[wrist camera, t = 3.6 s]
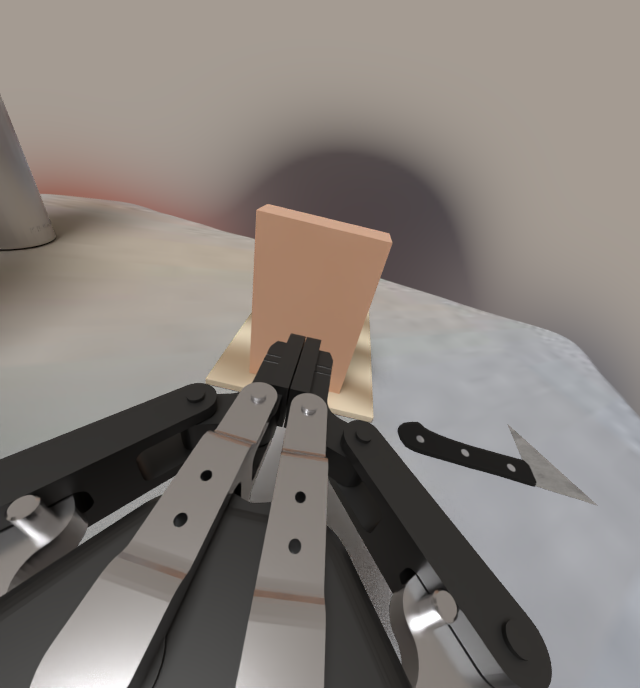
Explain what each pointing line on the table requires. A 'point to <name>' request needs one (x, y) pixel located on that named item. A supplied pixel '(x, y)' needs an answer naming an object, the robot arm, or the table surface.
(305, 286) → the tile
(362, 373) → the board
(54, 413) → the table surface
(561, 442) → the table surface
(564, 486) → the kitchen knife
